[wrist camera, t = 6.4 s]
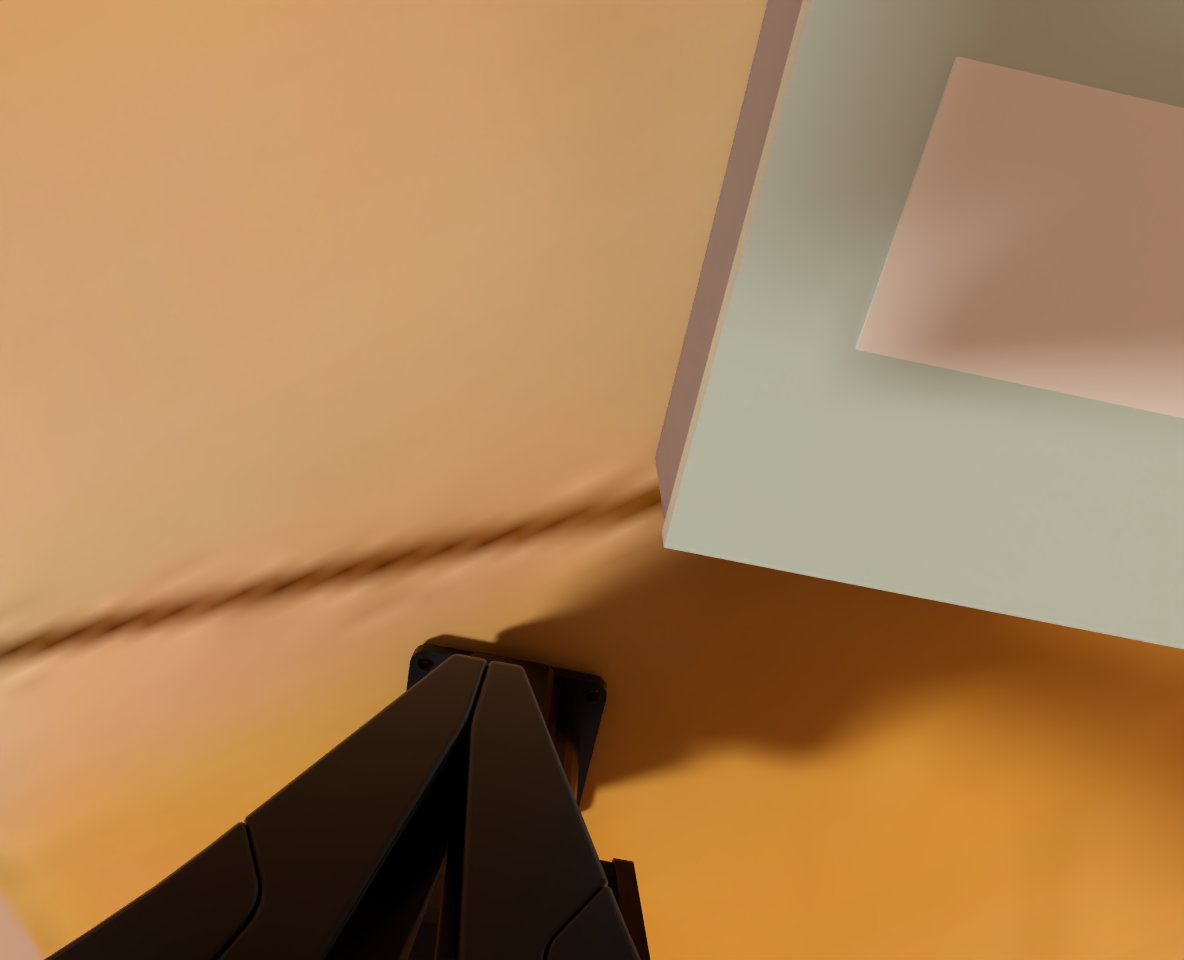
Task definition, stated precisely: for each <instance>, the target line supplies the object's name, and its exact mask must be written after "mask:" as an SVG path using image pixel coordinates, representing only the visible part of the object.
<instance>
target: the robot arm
mask: <svg viewBox="0 0 1184 960" xmlns="http://www.w3.org/2000/svg"><path fill="white" fill-rule="evenodd" d="M421 658H429V659H431V661H432V662H433V663H426V662H424V661H423V660H422V659H421ZM606 688H607V685H606V683H605V681H604V680H603V679H602V678H601V677H598V676H596V675H591V674H586V673H581V672H575V671H570V670H565V669H559V668H554V667H549V666H548V665H543V664H538V663H533V662H527V661H522V660H517V659H511V658H506V657H501V656H495V655H490V654H485V653H479V652H476V653H474V652H469V651H464V650H458V649H453V648H448V647H442V646H437V645H432V644H423V645H420V646H418V647H417V648H416V649H415V651H414V653H413V656H412V658H411V661H410V667H409V675H408V682H407V690H406V692H405V693H403V694H402V695H401V696H400V697H398V698H397V699H396V700H395V701H393V702H392V703H391V704H389V705H388V706H387V707H386V708H384V709H383V710H382V711H381V712H379V713H378V714H377V715H375V716H374V717H373V718H372V719H370V720H369V721H368V722H367V723H365V724H364V725H363V726H361V727H360V728H359V729H358V730H356V731H355V732H354V733H352V734H351V735H350V736H349V737H347V738H346V739H345V740H344V741H342V742H341V743H340V744H338V745H337V746H336V747H335V748H333V749H332V750H331V751H330V752H328V753H327V754H326V755H324V756H323V757H322V758H321V759H319V760H318V761H317V762H316V763H314V764H313V765H312V766H310V767H309V768H308V769H307V770H305V771H304V772H303V773H302V774H300V775H299V776H298V777H296V778H295V779H294V780H293V781H291V782H290V783H289V784H288V785H286V786H285V787H284V788H282V789H281V790H280V791H279V792H277V793H276V794H275V795H274V796H272V797H271V798H270V799H268V800H267V801H266V802H265V803H263V804H262V805H261V806H260V807H258V808H257V809H256V810H254V811H253V812H252V813H251V814H249V815H248V816H247V817H246V818H245V820H244V823H243V822H239V823H237V824H236V825H235V826H233V827H232V828H231V829H230V830H228V831H227V832H226V833H225V834H223V835H222V836H221V837H219V838H218V839H217V840H216V841H214V842H213V843H212V844H211V845H209V846H208V847H207V848H205V849H204V850H203V851H201V852H200V853H199V854H197V855H196V856H195V857H193V858H192V859H191V860H189V861H188V862H187V863H185V864H184V865H183V866H181V867H180V868H178V869H177V870H176V871H174V872H173V873H172V874H170V875H169V876H168V877H166V878H165V879H164V880H162V881H161V882H160V883H158V884H157V885H156V886H154V887H153V888H151V889H150V890H148V891H147V892H145V893H144V894H142V895H141V896H139V897H138V898H136V899H135V900H134V901H132V902H131V903H129V904H128V905H126V906H125V907H123V908H122V909H120V910H119V911H117V912H116V913H114V914H113V915H111V916H110V917H108V918H107V919H105V920H104V921H103V922H101V923H100V924H98V925H97V926H95V927H94V928H92V929H91V930H89V931H88V932H86V933H85V934H83V935H81V936H80V937H78V938H77V939H75V940H74V941H72V942H71V943H69V944H68V945H66V946H64V947H63V948H61V949H60V950H58V951H57V952H55V953H54V954H52V955H51V956H49V957H48V958H46V959H44V960H650V955H649V950H648V944H647V938H646V932H645V926H644V921H643V915H642V909H641V903H640V897H639V892H638V886H637V880H636V874H635V868H634V863H633V862H632V861H627V860H621V859H616V858H614V859H613V861H612V862H609V861H604V860H599V857H598V855H597V852H596V850H595V847H594V845H593V842H592V840H591V837H590V835H589V832H588V830H587V827H586V825H585V822H584V819H583V817H582V814H581V812H580V809H579V804H580V800H581V796H582V792H583V788H584V784H585V780H586V776H587V772H588V768H589V764H590V760H591V756H592V752H593V748H594V744H595V741H596V737H597V733H598V729H599V725H600V721H601V717H602V713H603V709H604V705H605V701H606ZM587 689H595V690H597V691H598V692H596V693H594V694H590V693H588V692H586V690H587Z"/></svg>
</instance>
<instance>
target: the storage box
mask: <svg viewBox="0 0 1184 960" xmlns="http://www.w3.org/2000/svg"><path fill="white" fill-rule="evenodd" d="M802 1H803V0H768V3H767V7H766V11H765V15H764V20H763V24H762V28H761V32H760V36H759V40H758V44H757V48H756V52H755V56H754V60H753V64H752V68H751V72H750V76H749V80H748V84H747V88H746V92H745V97H744V101H743V105H742V109H741V113H740V117H739V121H738V125H737V129H736V133H735V137H734V141H733V145H732V149H731V153H730V157H729V161H728V165H727V169H726V174H725V178H724V182H723V186H722V190H721V194H720V198H719V202H718V206H717V210H716V214H715V218H714V222H713V226H712V230H711V234H710V238H709V242H708V246H707V251H706V255H705V259H704V263H703V267H702V271H701V275H700V279H699V283H698V287H697V291H696V295H695V299H694V303H693V307H692V311H691V315H690V319H689V323H688V327H687V332H686V336H685V340H684V344H683V348H682V352H681V356H680V360H679V364H678V368H677V372H676V376H675V380H674V384H673V388H672V392H671V396H670V400H669V404H668V409H667V413H666V417H665V421H664V425H663V429H662V433H661V437H660V441H659V445H658V449H657V453H656V457H655V460H656V467H657V473H658V480H659V487H660V494H661V500H662V507H663V514H664V521H665V518H666V514H667V510H668V506H669V503H670V499H671V495H672V491H673V487H674V484H675V480H676V476H677V472H678V469H679V465H680V461H681V457H682V453H683V450H684V446H685V442H686V438H687V435H688V431H689V427H690V423H691V420H692V416H693V412H694V408H695V404H696V401H697V397H698V393H699V389H700V386H701V382H702V378H703V374H704V370H705V367H706V363H707V359H708V355H709V352H710V348H711V344H712V340H713V337H714V333H715V329H716V325H717V321H718V318H719V314H720V310H721V306H722V303H723V299H724V295H725V291H726V287H727V284H728V280H729V276H730V272H731V269H732V265H733V261H734V257H735V253H736V250H737V246H738V242H739V238H740V235H741V231H742V227H743V223H744V220H745V216H746V212H747V208H748V204H749V201H750V197H751V193H752V189H753V186H754V182H755V178H756V174H757V170H758V167H759V163H760V159H761V155H762V152H763V148H764V144H765V140H766V137H767V133H768V129H769V125H770V121H771V118H772V114H773V110H774V106H775V103H776V99H777V95H778V91H779V87H780V84H781V80H782V76H783V72H784V69H785V65H786V61H787V57H788V53H789V50H790V46H791V42H792V38H793V35H794V31H795V27H796V23H797V20H798V16H799V12H800V8H801V4H802Z"/></svg>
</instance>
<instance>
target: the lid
mask: <svg viewBox="0 0 1184 960" xmlns="http://www.w3.org/2000/svg"><path fill="white" fill-rule="evenodd" d="M662 536H663V545H664V548H669V549H674V550H679V551H684V552H689V553H694V554H700V555H705V556H710V557H715V558H720V559H725V560H730V561H735V562H740V563H746V564H751V565H756V566H761V567H766V568H771V569H776V570H781V571H786V572H791V573H797V574H802V575H807V576H812V577H817V578H822V579H827V580H832V581H837V582H843V583H848V584H853V585H858V586H863V587H868V588H873V589H878V590H883V591H888V592H894V593H899V594H904V595H909V596H914V597H919V598H924V599H929V600H934V601H940V602H945V603H950V604H955V605H960V606H965V607H970V608H975V609H980V610H985V611H991V612H996V613H1001V614H1006V615H1011V616H1016V617H1021V618H1026V619H1031V620H1037V621H1042V622H1047V623H1052V624H1057V625H1062V626H1067V627H1072V628H1077V629H1083V630H1088V631H1093V632H1098V633H1103V634H1108V635H1113V636H1118V637H1123V638H1128V639H1134V640H1139V641H1144V642H1149V643H1154V644H1159V645H1164V646H1169V647H1174V648H1180V649H1184V0H803V1H802V4H801V8H800V12H799V16H798V20H797V23H796V27H795V31H794V35H793V38H792V42H791V46H790V50H789V53H788V57H787V61H786V65H785V69H784V72H783V76H782V80H781V84H780V87H779V91H778V95H777V99H776V103H775V106H774V110H773V114H772V118H771V121H770V125H769V129H768V133H767V137H766V140H765V144H764V148H763V152H762V155H761V159H760V163H759V167H758V170H757V174H756V178H755V182H754V186H753V189H752V193H751V197H750V201H749V204H748V208H747V212H746V216H745V220H744V223H743V227H742V231H741V235H740V238H739V242H738V246H737V250H736V253H735V257H734V261H733V265H732V269H731V272H730V276H729V280H728V284H727V287H726V291H725V295H724V299H723V303H722V306H721V310H720V314H719V318H718V321H717V325H716V329H715V333H714V337H713V340H712V344H711V348H710V352H709V355H708V359H707V363H706V367H705V370H704V374H703V378H702V382H701V386H700V389H699V393H698V397H697V401H696V404H695V408H694V412H693V416H692V420H691V423H690V427H689V431H688V435H687V438H686V442H685V446H684V450H683V453H682V457H681V461H680V465H679V469H678V472H677V476H676V480H675V484H674V487H673V491H672V495H671V499H670V503H669V506H668V510H667V514H666V518H665V521H664V525H663V529H662Z"/></svg>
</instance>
